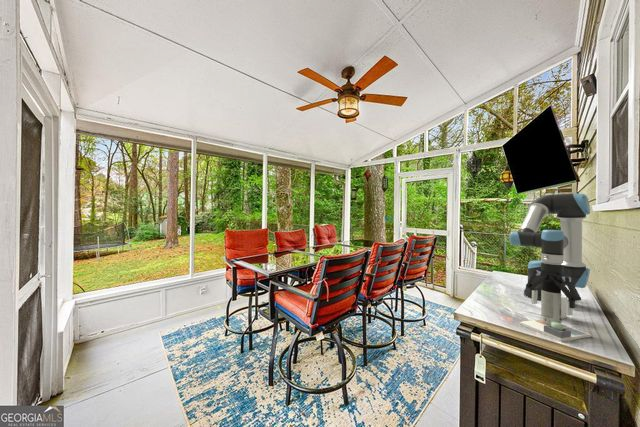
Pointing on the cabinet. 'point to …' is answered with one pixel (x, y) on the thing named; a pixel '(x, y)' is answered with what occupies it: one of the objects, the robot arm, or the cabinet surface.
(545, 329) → the picture board
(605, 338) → the cabinet surface
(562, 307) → the mug
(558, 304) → the spray can
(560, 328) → the button
